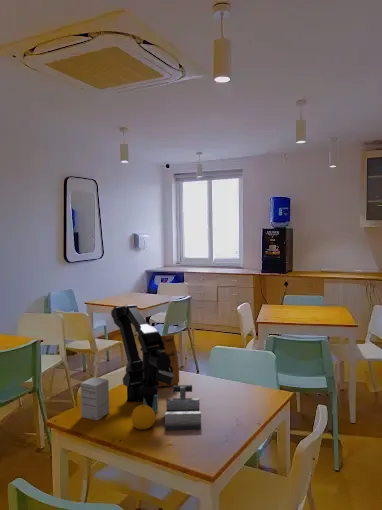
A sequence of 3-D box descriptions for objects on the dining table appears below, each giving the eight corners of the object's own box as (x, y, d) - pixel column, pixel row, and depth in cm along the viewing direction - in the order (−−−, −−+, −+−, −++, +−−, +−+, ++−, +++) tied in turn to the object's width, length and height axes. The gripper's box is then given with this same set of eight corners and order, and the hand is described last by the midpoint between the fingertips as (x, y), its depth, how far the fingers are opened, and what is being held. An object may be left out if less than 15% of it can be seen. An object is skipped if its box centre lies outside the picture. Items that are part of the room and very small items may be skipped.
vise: (165, 430, 143) (165, 415, 143) (167, 409, 161) (166, 396, 161) (201, 429, 143) (201, 414, 143) (198, 408, 161) (198, 395, 161)
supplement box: (93, 410, 161) (93, 376, 161) (109, 413, 158) (109, 379, 157) (80, 417, 154) (79, 382, 154) (97, 420, 151) (96, 385, 151)
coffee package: (181, 386, 186) (180, 336, 185) (152, 389, 182) (151, 338, 182) (175, 379, 195) (175, 332, 194) (148, 382, 192) (147, 333, 191)
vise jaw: (166, 410, 156) (166, 390, 155) (167, 403, 162) (166, 384, 161) (199, 409, 156) (199, 389, 156) (198, 403, 162) (198, 384, 162)
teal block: (143, 411, 159) (143, 395, 158) (144, 407, 163) (144, 392, 162) (157, 411, 159) (157, 395, 158) (158, 407, 163) (157, 391, 162)
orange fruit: (151, 421, 150) (151, 399, 150) (158, 430, 143) (157, 407, 143) (129, 424, 148) (129, 403, 148) (134, 434, 140) (134, 411, 140)
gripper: (171, 371, 151) (171, 415, 151) (172, 357, 170) (172, 396, 170) (139, 372, 151) (140, 415, 151) (144, 357, 169) (144, 396, 170)
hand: (150, 405), depth 161 cm, fingers closed on teal block, 4 cm apart
